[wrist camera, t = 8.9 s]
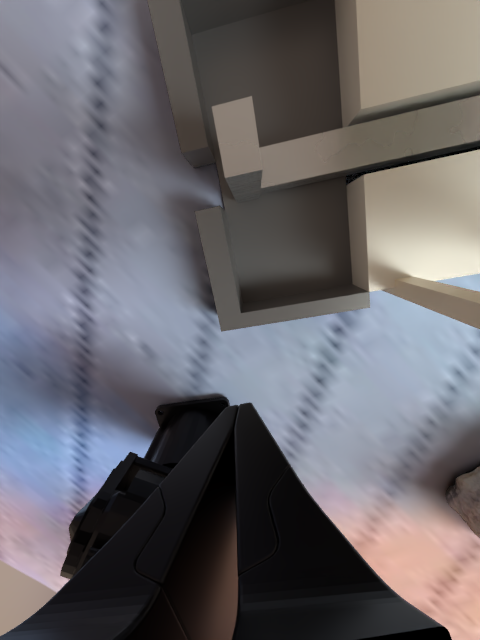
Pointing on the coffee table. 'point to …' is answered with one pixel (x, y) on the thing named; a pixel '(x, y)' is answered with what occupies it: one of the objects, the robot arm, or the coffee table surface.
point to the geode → (467, 498)
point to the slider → (337, 145)
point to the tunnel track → (322, 116)
